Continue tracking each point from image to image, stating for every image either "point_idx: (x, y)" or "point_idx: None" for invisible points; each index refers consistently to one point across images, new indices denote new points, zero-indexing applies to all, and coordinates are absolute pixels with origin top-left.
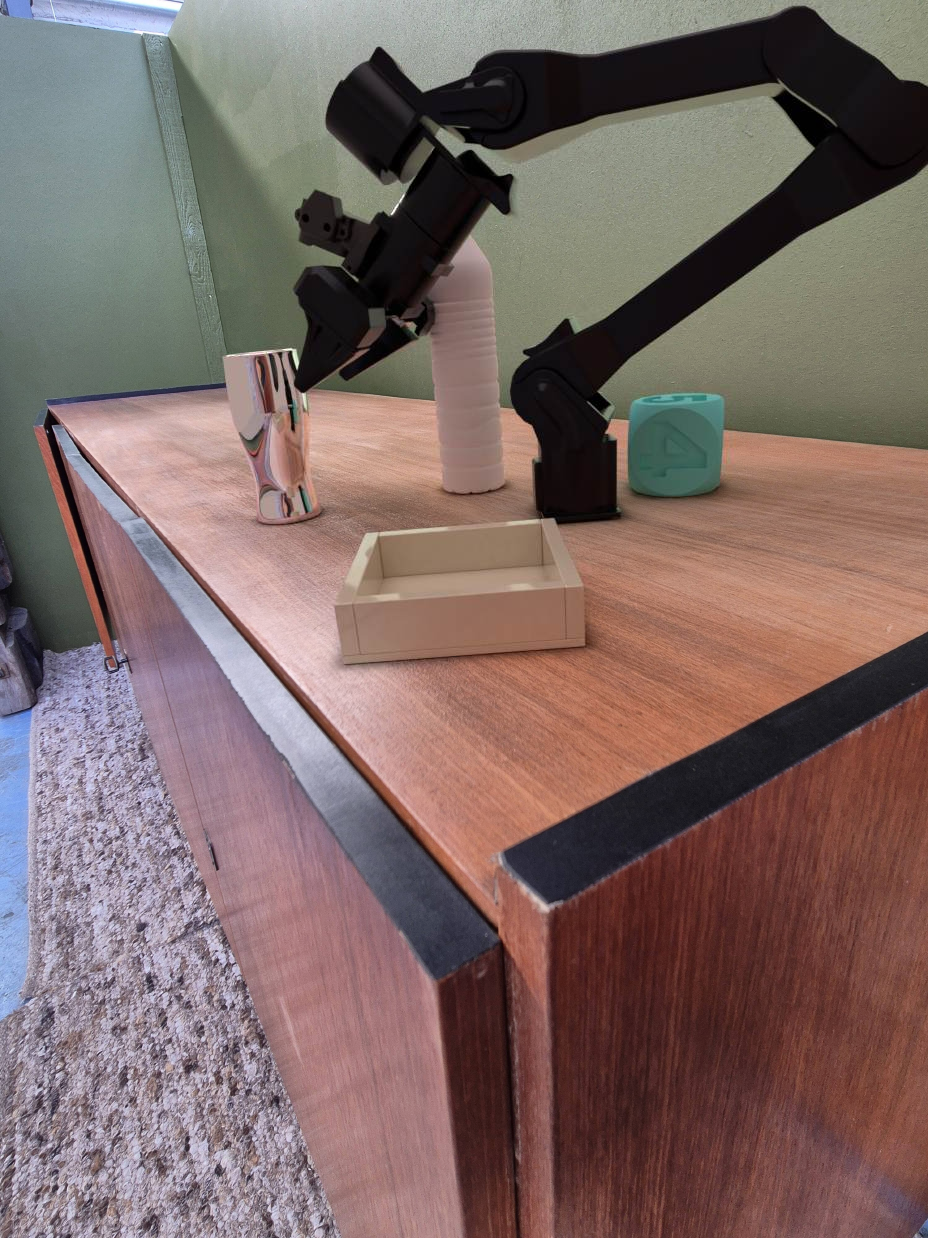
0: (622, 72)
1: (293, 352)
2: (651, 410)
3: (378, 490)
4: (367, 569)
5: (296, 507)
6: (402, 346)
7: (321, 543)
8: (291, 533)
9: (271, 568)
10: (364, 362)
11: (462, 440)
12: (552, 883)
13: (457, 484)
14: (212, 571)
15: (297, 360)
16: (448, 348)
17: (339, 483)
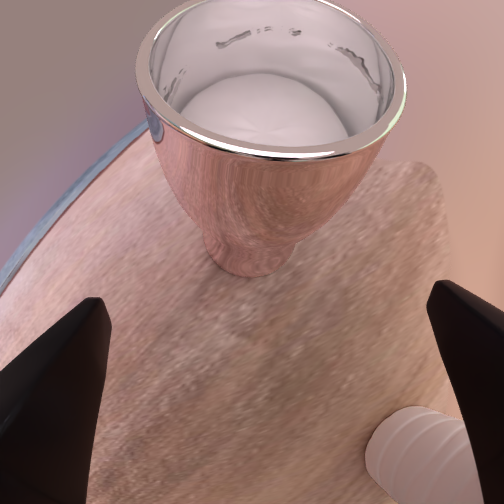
0: None
1: (296, 165)
2: None
3: (396, 305)
4: None
5: (217, 258)
6: (483, 500)
7: (122, 347)
8: (163, 281)
9: (46, 323)
10: (461, 379)
11: (395, 487)
12: None
13: (370, 449)
14: (40, 259)
15: (317, 180)
16: None
17: (426, 219)
